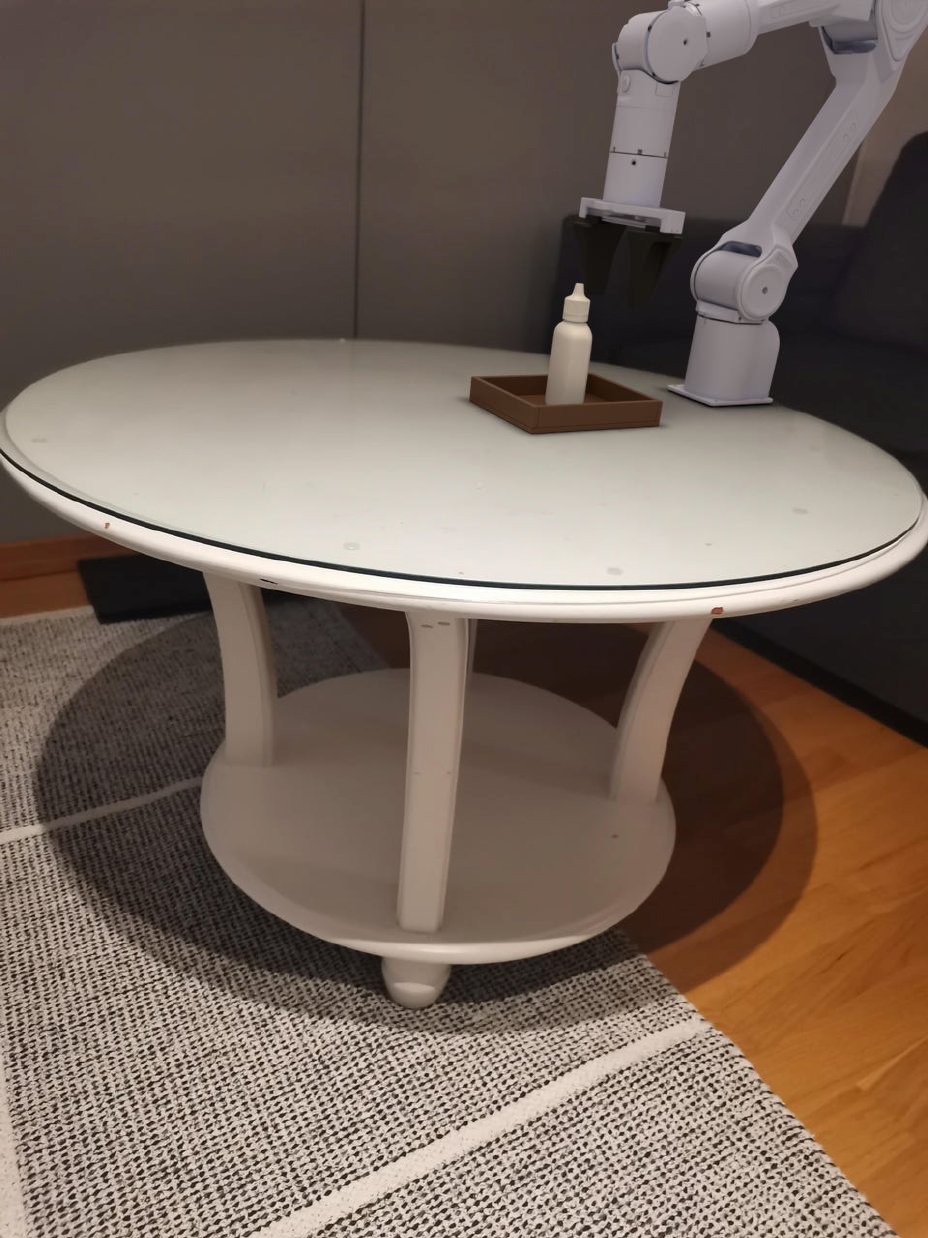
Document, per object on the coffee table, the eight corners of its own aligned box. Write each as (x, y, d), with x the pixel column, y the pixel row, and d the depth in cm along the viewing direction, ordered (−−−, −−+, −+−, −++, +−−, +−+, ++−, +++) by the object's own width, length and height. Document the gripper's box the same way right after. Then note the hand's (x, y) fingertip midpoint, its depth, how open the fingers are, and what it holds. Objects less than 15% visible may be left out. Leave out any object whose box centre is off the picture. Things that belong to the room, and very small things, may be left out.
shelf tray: (589, 395, 104) (592, 372, 103) (659, 425, 94) (663, 400, 93) (468, 400, 97) (470, 376, 96) (531, 433, 87) (534, 407, 86)
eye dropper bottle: (589, 405, 97) (607, 283, 92) (578, 417, 92) (597, 289, 87) (548, 399, 98) (563, 278, 93) (535, 410, 93) (551, 283, 88)
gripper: (563, 147, 96) (545, 287, 102) (653, 155, 85) (627, 312, 91) (618, 154, 99) (598, 289, 105) (712, 162, 88) (683, 313, 94)
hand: (615, 300), depth 98 cm, fingers open, 7 cm apart
